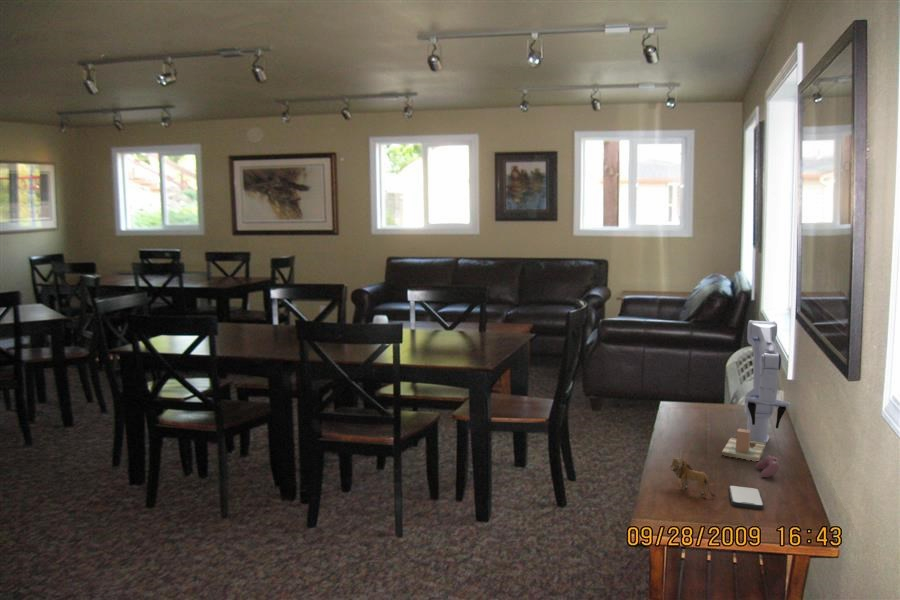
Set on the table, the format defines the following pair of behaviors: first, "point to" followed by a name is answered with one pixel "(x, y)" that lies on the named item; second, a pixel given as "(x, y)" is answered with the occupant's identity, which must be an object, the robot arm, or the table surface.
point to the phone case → (746, 497)
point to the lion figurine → (690, 476)
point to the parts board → (752, 455)
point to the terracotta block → (743, 440)
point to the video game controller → (768, 466)
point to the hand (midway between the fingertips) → (765, 425)
